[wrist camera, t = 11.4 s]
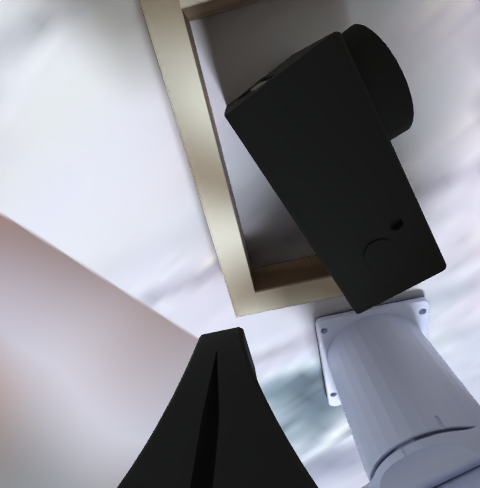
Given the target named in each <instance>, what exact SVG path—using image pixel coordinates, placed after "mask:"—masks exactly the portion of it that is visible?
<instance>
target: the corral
mask: <svg viewBox="0 0 480 488" xmlns="http://www.w3.org/2000/svg"><path fill="white" fill-rule="evenodd" d="M139 1H140V4H141V7H142V10H143V14H144V17H145V20H146V24H147V27H148V30H149V33H150V37H151V40H152V43H153V47H154V50H155V53H156V56H157V60H158V63H159V66H160V69H161V73H162V76H163V79H164V83H165V86H166V89H167V92H168V96H169V99H170V102H171V105H172V109H173V112H174V115H175V119H176V122H177V125H178V128H179V132H180V135H181V138H182V142H183V145H184V148H185V151H186V155H187V158H188V161H189V164H190V168H191V171H192V174H193V178H194V181H195V184H196V187H197V191H198V194H199V197H200V200H201V204H202V207H203V210H204V214H205V217H206V220H207V223H208V227H209V230H210V233H211V237H212V240H213V243H214V246H215V250H216V253H217V256H218V259H219V263H220V266H221V269H222V273H223V276H224V279H225V282H226V286H227V289H228V292H229V295H230V299H231V302H232V305H233V309H234V312H235V315H236V317H241V316H246V315H250V314H255V313H260V312H265V311H270V310H275V309H280V308H285V307H290V306H295V305H299V304H304V303H309V302H314V301H319V300H324V299H329V298H334V297H339V296H343V295H344V294H343V293H342V291H341V290H340V288H339V287H338V285H337V284H336V282H335V281H334V279H333V278H332V276H331V275H330V273H329V272H328V270H327V269H326V267H325V266H324V264H323V263H322V261H321V260H320V258H319V257H318V255H316V256H311V257H307V258H302V259H297V260H293V261H288V262H283V263H279V264H274V265H269V266H265V267H260V268H256V269H252V267H251V263H250V259H249V255H248V251H247V247H246V243H245V239H244V235H243V231H242V227H241V223H240V219H239V216H238V212H237V208H236V204H235V200H234V196H233V192H232V188H231V184H230V180H229V176H228V172H227V168H226V164H225V160H224V156H223V153H222V149H221V145H220V141H219V137H218V133H217V129H216V125H215V121H214V117H213V113H212V109H211V105H210V101H209V97H208V93H207V89H206V86H205V82H204V78H203V74H202V70H201V66H200V62H199V58H198V54H197V50H196V46H195V42H194V38H193V34H192V30H191V26H190V22H189V21H192V20H196V19H199V18H203V17H206V16H210V15H213V14H217V13H220V12H224V11H227V10H231V9H234V8H238V7H241V6H245V5H248V4H252V3H255V2H259V1H263V0H139Z"/></svg>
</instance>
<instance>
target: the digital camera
mask: <svg viewBox="0 0 480 488" xmlns="http://www.w3.org/2000/svg"><path fill="white" fill-rule="evenodd" d="M413 116H414V111H413V103H412V97H411V94H410V90H409V87H408V84H407V81H406V79H405V77H404V74H403V72H402V70H401V68H400V66H399V64H398V62H397V60H396V59H395V57H394V56H393V54H392V52H391V51H390V50H389V48H388V47H387V46H386V44H385V43H384V42H383V41H382V40H381V39H380V37H379V36H378V35H376V34H375V33H374V32H373V31H372V30H370V29H369V28H367V27H366V26H363V25H361V24H355V25H352V26H351V27H349V28H348V29H347V30H346V31H344V32H343V33H342V34H341V33H340V32H333V33H332V34H330V35H328V36H326V37H324V38H322V39H321V40H319V41H317V42H315V43H313V44H312V45H310V46H308V47H306V48H304V49H302V50H301V51H299V52H297V53H295V54H294V55H292V56H291V57H290V58H288V59H287V60H286V61H284V62H283V63H282V64H281V65H279V66H278V67H277V68H275V69H274V70H273V71H271V72H270V73H269V74H268V75H266V76H265V77H264V78H262V79H261V80H260V81H259V82H257V83H256V84H255V85H253V86H252V87H251V88H249V89H248V90H247V91H246V92H244V93H243V94H242V95H240V96H239V97H238V98H236V99H235V100H234V101H233V102H231V103H230V104H229V105H228V106H227V107H226V110H225V117H226V119H227V120H228V122H229V123H230V125H231V126H232V128H233V129H234V131H235V132H236V134H237V135H238V137H239V138H240V140H241V141H242V143H243V144H244V146H245V147H246V149H247V150H248V152H249V153H250V155H251V156H252V158H253V159H254V161H255V162H256V164H257V165H258V167H259V168H260V170H261V171H262V173H263V174H264V176H265V177H266V179H267V180H268V182H269V183H270V185H271V186H272V188H273V189H274V191H275V192H276V194H277V195H278V197H279V198H280V200H281V201H282V203H283V204H284V206H285V207H286V209H287V210H288V212H289V213H290V215H291V216H292V218H293V219H294V221H295V222H296V224H297V225H298V227H299V228H300V230H301V231H302V233H303V234H304V236H305V237H306V239H307V240H308V242H309V243H310V245H311V246H312V248H313V249H314V251H315V252H316V254H317V255H318V257H319V258H320V260H321V261H322V263H323V264H324V266H325V267H326V269H327V270H328V272H329V273H330V275H331V276H332V278H333V279H334V281H335V282H336V284H337V285H338V287H339V288H340V290H341V291H342V293H343V294H344V296H345V297H346V299H347V300H348V302H349V303H350V305H351V306H352V308H353V309H354V311H355V312H356V314H360V313H362V312H364V311H366V310H368V309H370V308H372V307H374V306H376V305H378V304H380V303H382V302H384V301H386V300H387V299H389V298H391V297H393V296H395V295H397V294H399V293H401V292H403V291H405V290H407V289H409V288H411V287H413V286H415V285H417V284H419V283H421V282H422V281H424V280H426V279H428V278H430V277H432V276H434V275H436V274H438V273H440V272H442V271H443V270H445V269H446V263H445V261H444V258H443V256H442V254H441V252H440V250H439V247H438V245H437V243H436V241H435V239H434V236H433V234H432V232H431V230H430V228H429V225H428V223H427V221H426V219H425V217H424V214H423V212H422V210H421V208H420V206H419V203H418V201H417V199H416V197H415V195H414V192H413V190H412V188H411V186H410V184H409V181H408V179H407V177H406V175H405V173H404V170H403V168H402V166H401V164H400V162H399V159H398V157H397V155H396V153H395V151H394V148H393V146H392V144H391V142H390V140H392V139H393V138H395V137H397V136H398V135H400V134H402V133H403V132H405V131H406V130H408V129H409V128H410V127H411V125H412V122H413Z"/></svg>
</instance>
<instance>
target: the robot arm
mask: <svg viewBox="0 0 480 488" xmlns="http://www.w3.org/2000/svg"><path fill="white" fill-rule="evenodd" d="M429 307H430V304H429V301H428V300H427V299H426V298H423V297H420V298H415V299H410V300H405V301H400V302H395V303H390V304H385V305H380V306H375V307H372V308H370V309H368V310H366V311H364V312H362V313H360V314H356V312H355V311H350V312H345V313H340V314H335V315H330V316H325V317H321V318H318V319H317V320H316V322H315V326H316V332H317V338H318V344H319V350H320V356H321V362H322V369H323V375H324V381H325V387H326V393H327V399H328V403H329V405H331V406H338V405H342V406H343V409H344V412H345V415H346V418H347V421H348V424H349V426H350V429H351V432H352V435H353V438H354V441H355V443H356V446H357V449H358V452H359V455H360V458H361V460H362V463H363V466H364V469H365V472H366V474H367V476H368V479H369V481H370V482H369V483H368V484H367V485H365V486H364V487H362V488H480V405H479V404H478V403H477V402H476V400H475V399H474V398H473V396H472V395H471V394H470V393H469V391H468V390H467V389H466V388H465V386H464V385H463V384H462V382H461V381H460V380H459V379H458V377H457V376H456V375H455V374H454V372H453V371H452V370H451V369H450V367H449V366H448V365H447V363H446V362H445V361H444V360H443V358H442V357H441V356H440V355H439V353H438V352H437V351H436V350H435V348H434V347H433V346H432V344H431V343H430V342H429V341H428V328H429ZM421 309H422V310H421ZM420 310H421V311H420ZM323 328H326V329H324V330H321V329H323ZM117 488H318V487H317V485H316V484H315V482H314V481H313V479H312V478H311V476H310V475H309V473H308V472H307V470H306V468H305V467H304V465H303V464H302V462H301V461H300V459H299V457H298V456H297V454H296V452H295V451H294V449H293V447H292V446H291V444H290V443H289V441H288V439H287V437H286V436H285V434H284V432H283V430H282V429H281V427H280V425H279V423H278V421H277V420H276V418H275V416H274V414H273V412H272V410H271V408H270V406H269V404H268V402H267V400H266V398H265V396H264V394H263V392H262V390H261V388H260V385H259V383H258V381H257V377H256V372H255V367H254V364H253V360H252V357H251V354H250V350H249V347H248V344H247V341H246V337H245V334H244V331H243V329H242V328H240V327H237V328H232V329H227V330H222V331H218V332H213V333H208V334H203V335H201V337H200V338H199V340H198V343H197V345H196V347H195V350H194V352H193V354H192V357H191V359H190V361H189V363H188V366H187V368H186V370H185V372H184V374H183V377H182V378H181V381H180V382H179V385H178V387H177V389H176V391H175V393H174V395H173V397H172V399H171V401H170V402H169V405H168V406H167V408H166V410H165V412H164V413H163V415H162V417H161V419H160V421H159V423H158V425H157V426H156V428H155V430H154V431H153V433H152V435H151V436H150V438H149V440H148V442H147V443H146V445H145V446H144V448H143V450H142V451H141V453H140V454H139V456H138V457H137V459H136V461H135V462H134V464H133V465H132V467H131V468H130V470H129V471H128V473H127V474H126V476H125V477H124V478H123V480H122V481H121V483H120V484H119V486H118V487H117Z"/></svg>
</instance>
